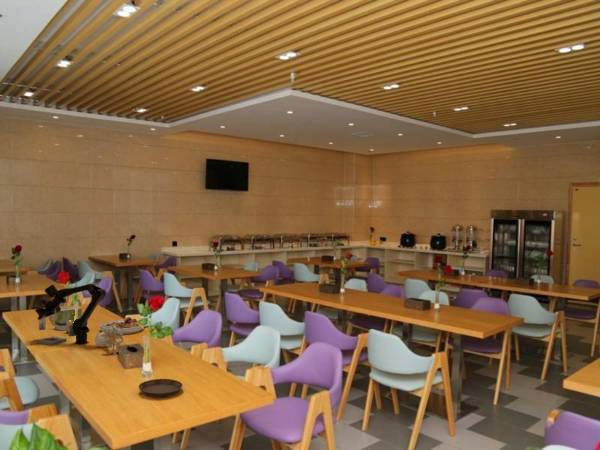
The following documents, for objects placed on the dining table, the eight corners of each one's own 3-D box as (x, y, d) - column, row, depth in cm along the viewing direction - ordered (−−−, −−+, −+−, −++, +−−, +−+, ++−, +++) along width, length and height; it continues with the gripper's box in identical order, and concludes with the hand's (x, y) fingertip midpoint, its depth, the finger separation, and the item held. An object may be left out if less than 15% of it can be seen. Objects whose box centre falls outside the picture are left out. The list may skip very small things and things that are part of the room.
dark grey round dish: (66, 341, 332) (66, 338, 332) (51, 345, 321) (51, 342, 321) (53, 339, 336) (53, 336, 336) (37, 343, 325) (37, 340, 325)
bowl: (135, 336, 352) (135, 325, 352) (92, 335, 353) (92, 323, 353) (148, 327, 382) (149, 316, 382) (109, 325, 383) (109, 315, 383)
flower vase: (95, 358, 320) (110, 356, 302) (87, 329, 321) (102, 326, 303) (114, 351, 329) (130, 349, 311) (107, 323, 330) (122, 320, 312)
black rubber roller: (78, 334, 351) (78, 324, 350) (73, 336, 346) (73, 326, 346) (73, 334, 352) (73, 324, 352) (68, 335, 348) (68, 325, 348)
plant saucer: (186, 385, 257) (186, 378, 257) (177, 400, 236) (177, 393, 236) (144, 384, 256) (145, 377, 256) (132, 399, 235) (133, 392, 235)
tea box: (61, 331, 360) (62, 310, 359) (54, 328, 366) (54, 308, 366) (81, 327, 372) (82, 307, 371) (74, 325, 378) (74, 305, 377)
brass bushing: (73, 332, 356) (74, 320, 356) (69, 333, 352) (69, 321, 352) (69, 332, 357) (69, 319, 357) (64, 333, 354) (65, 320, 354)
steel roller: (46, 329, 336) (47, 311, 336) (42, 330, 332) (42, 312, 332) (42, 328, 337) (42, 310, 337) (37, 329, 333) (37, 311, 333)
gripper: (56, 291, 343) (42, 307, 345) (37, 295, 324) (22, 312, 327) (67, 303, 341) (52, 319, 343) (48, 308, 323) (33, 325, 325)
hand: (40, 318), depth 335 cm, fingers closed on steel roller, 4 cm apart
